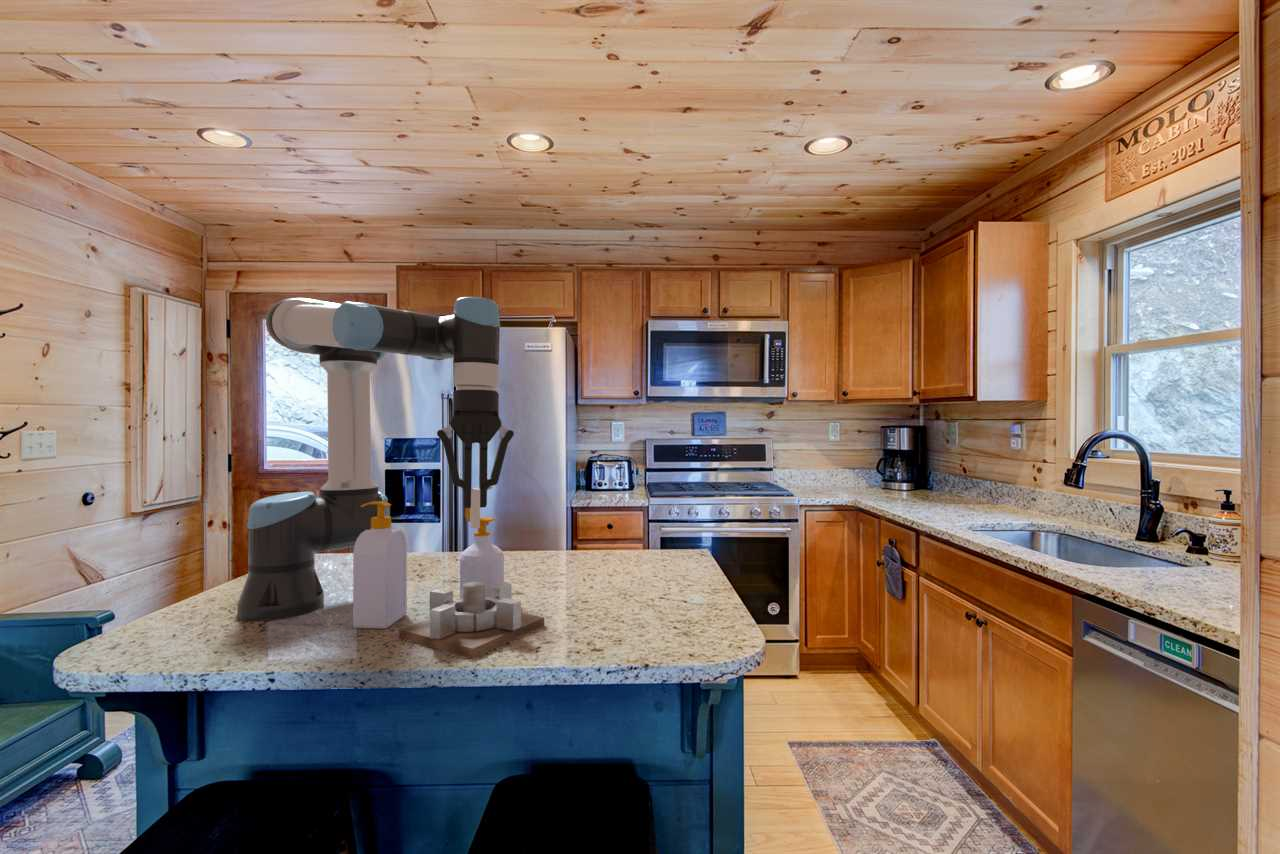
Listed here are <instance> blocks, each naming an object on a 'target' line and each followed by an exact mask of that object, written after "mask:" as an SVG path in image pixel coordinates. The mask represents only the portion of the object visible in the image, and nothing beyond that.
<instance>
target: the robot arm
mask: <svg viewBox="0 0 1280 854" xmlns="http://www.w3.org/2000/svg"><path fill="white" fill-rule="evenodd" d="M266 313H267V314H266V317H265V326H266V330H267V332H268V334H269V336H270V337H271V338H272V340H274V342H276V343H278V344H279V345H280V346H282V347H284V348H286V349H288V350H291V351H294V352H298V353H302V354H311V355H318V356H319V360H318V362H319V365H320V366H321V367H322V368H323V369H324V370H325V371H326V374H327V379H326V380H327V385H326V386H327V460H328V461H327V463H328V464H327V467H328V469H327V471H328V476H327V477H328V478H327V479H328V480H327V481H326V482H325V483H324V485H322V487H320V497H317V496H315V493H314V492H313V491H297V492H289V493H288V492H287V493H282V494H275V495H271V496H267V497H263V498H261V499H258V500H256V501H255V502H253V503H251V505H250V507H249V509H248V520H247V523H246V528H247V530H248V531H247V534H248V535H247V545H248V547H247V555H248V556H247V557H248V558H247V562H248V563H247V566H248V567H247V569H248V570H247V577H246V580H245V582H244V585H243V588H242V591H241V594H240V596H239V598H238V601H237V606H236V607H237V609H236V611H237V617H238V618H239V619H242V620H248V621H268V620H269V621H270V620H279V619H287V618H293V617H296V616H301V615H305V614H308V613H312V612H314V611H316V610H318V609H319V608H320V609H321V608H322V607H323V606H324V603H325V593H324V590H323V587H322V584H321V581H320V579H319V576H318V573H317V570H316V567H315V556H316V553H324V552H330V551H335V550H342V549H349V548H354V546H355V543H356V540H357V538H358V537H359V535H360V534H361V533H362V532H363V531H365V530H370V529H371V518H372V517H377V504H369V505H366V506H364V507H361V505H363V504H366V503H369V502H378V501H382V502H387V503H389V501H388V500H389V498H388V497H387V495H386V494H384V493H383V492H380V491H379V485H378V484H377V482H375V481H374V480H373V479H372V452H371V449H372V448H371V447H372V446H371V443H372V441H371V376H370V375H371V373H372V372H373V371H375V369H376V368H377V367H378V361H379V360H382V358H384V357H385V355H386V354H387V353H388V354H390V353H391V354H399V355H406V356H408V355H409V356H414V357H421V358H423V359H426V360H431V361H433V360H434V361H435V360H437V361H444V360H447V359H453V384H452V385H453V387H455V388H456V389H455V390H454V391H453V394H452V395H453V397H452V398H453V401H452V404H453V405H452V408H453V409H452V410H453V411H452V417H451V419H450V421H449V424H448V425H447V426H445V427H443V428H441V429H439V430H437V432H436V435H437V437H438V439H439V440H440V441H441V442H442V444H443V447H444V451H445V456H446V460H447V464H448V468H449V471H450V472H449V473H450V476H451V480H452V484H453V485H454V486H455V487H460V488H462V489H463V490H462V491H463V507H464V509H465V508H470V522H469V526H470V527H469V528H470V529H478V528H480V517H481V508H486V507H487V506H488V505H487V504H488V490H487V489H488V488H489V487H493V486H497V484H498V483H499V480H500V475H501V471H502V469H503V465H504V464H503V463H504V460H505V457H506V456H505V455H506V452H507V449H508V446H509V445H508V444H509V443H510V441H511V440H512V438H513V437H514V435H515V432H514V431H513V430H511V429H508V428H507V427H505V426H504V425H503V424H502V420H501V418H500V416H499V410H500V409H499V405H500V404H499V403H500V402H499V401H500V400H499V398H500V397H499V396H500V393H498V390H496V389H498V388H499V387H500V334H501V333H500V332H501V329H500V328H501V322H500V321H501V320H500V307H499V304H498V303H497V302H496V301H495V300H494V299H490V298H485V297H481V296H479V297H478V296H463V297H459V298H457V299H456V300H455V302H454V307H453V311H452V313H453V314H451V315H450V314H449V315H444V316H443V315H442V316H440V315H434V314H428V313H423V312H416V311H409V310H406V309H405V310H404V309H397V308H391V307H386V306H380V305H375V304H370V303H367V302H355V301H344V302H342V303H338V302H330V301H325V300H318V299H314V298H306V297H292V298H291V297H290V298H286V299H282V300H279V301H278V302H276V303H274V304H273V305H272V306H271V307H270V308H269V310H268V312H266ZM453 431H454V433H455V434H456V435H457V437H458V438H459V439H460V441H462V442H463V479H462V478H460V474H459V471H458V470H459V469H458V466H457V463H456V457H455V454H454V450H453V446H452V442H451V440H450V439H452V437H453V434H452V432H453ZM497 432H499V433H498V438H499V439H500V440H499V443H498V447H497V451H496V455H495V459H494V462H493V465H492V470H491V473H490V474H491V475H490V478H488V449H489V447H488V446H489V445H488V444H489V442H491V440H492V439H493V438H494V436H495V435H496V434H497ZM473 444H478V447H479V452H478V453H479V454H478V456H479V457H478V459H479V461H478V462H479V464H478V465H479V466H478V469H479V470H478V472H479V473H478V475H479V476H478V482H479V483H478V484H479V485H478V487H473V488H472V479H473V478H472V475H473V474H472V473H473V472H472V470H473V469H472V468H473V467H472V466H473V461H472V460H473ZM390 514H391V506H389V507H385V516H390V517H391V515H390Z"/></svg>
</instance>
